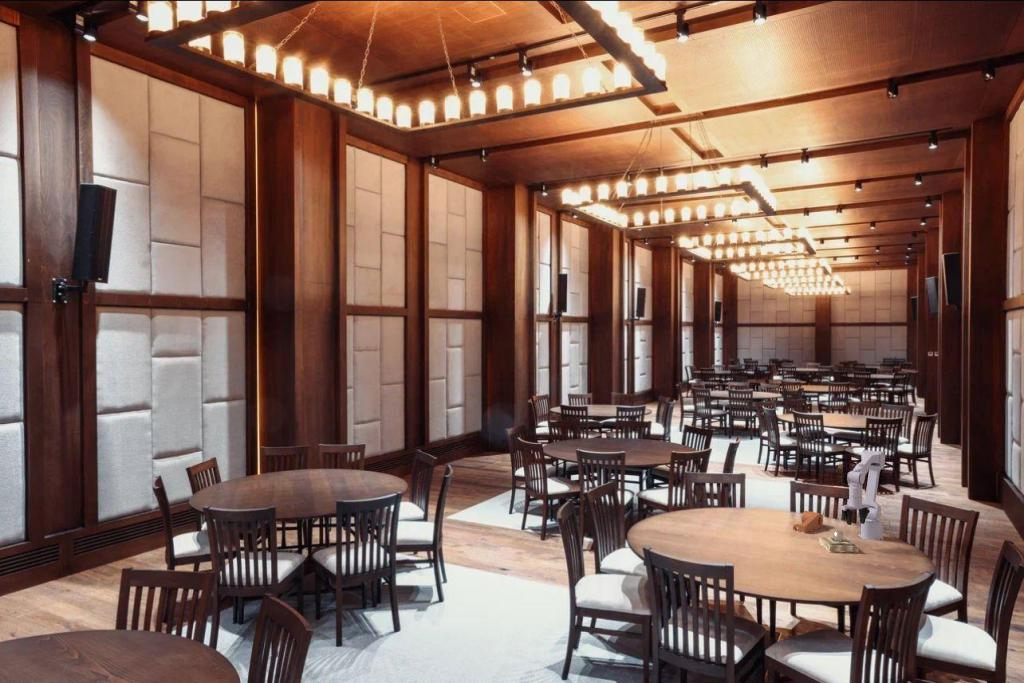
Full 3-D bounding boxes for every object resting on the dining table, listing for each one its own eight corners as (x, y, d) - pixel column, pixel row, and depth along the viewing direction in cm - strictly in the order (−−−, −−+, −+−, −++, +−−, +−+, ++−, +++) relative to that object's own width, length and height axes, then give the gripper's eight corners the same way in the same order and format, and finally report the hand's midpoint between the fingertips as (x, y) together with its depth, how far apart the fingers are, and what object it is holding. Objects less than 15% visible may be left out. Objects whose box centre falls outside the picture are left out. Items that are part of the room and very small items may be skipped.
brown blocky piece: (808, 524, 375) (808, 509, 375) (823, 527, 369) (823, 512, 369) (790, 530, 362) (790, 515, 362) (805, 534, 356) (805, 518, 356)
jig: (846, 543, 338) (846, 536, 338) (858, 552, 324) (858, 545, 324) (819, 543, 339) (819, 536, 339) (829, 552, 325) (829, 544, 325)
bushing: (844, 547, 332) (844, 532, 332) (837, 547, 332) (837, 533, 332) (839, 544, 336) (839, 530, 336) (832, 545, 336) (832, 531, 336)
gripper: (862, 493, 341) (862, 520, 341) (837, 495, 337) (837, 522, 338) (872, 496, 334) (872, 524, 334) (847, 498, 331) (847, 526, 331)
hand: (855, 524), depth 335 cm, fingers open, 7 cm apart
